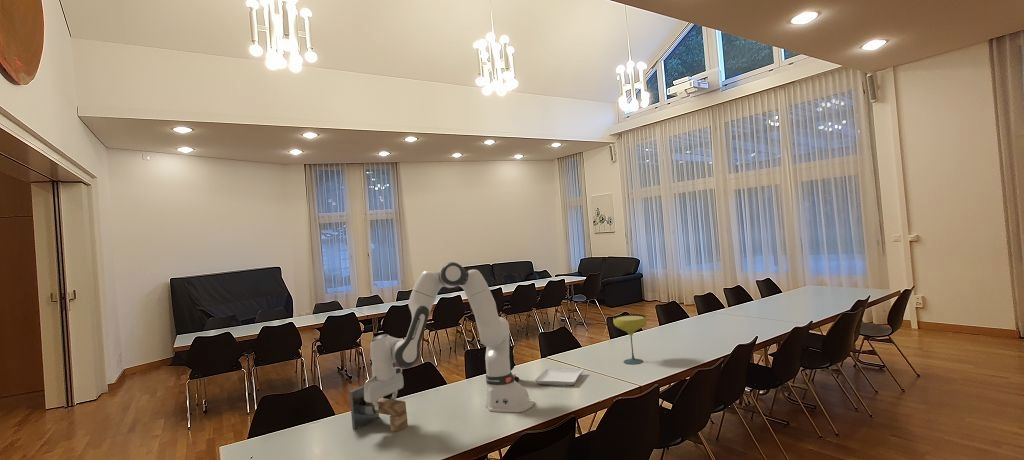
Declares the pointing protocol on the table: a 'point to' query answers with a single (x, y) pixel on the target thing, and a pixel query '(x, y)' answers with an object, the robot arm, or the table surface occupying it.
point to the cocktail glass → (630, 329)
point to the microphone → (512, 358)
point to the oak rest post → (398, 422)
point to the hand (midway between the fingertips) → (385, 405)
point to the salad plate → (559, 376)
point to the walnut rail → (390, 407)
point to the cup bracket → (360, 408)
